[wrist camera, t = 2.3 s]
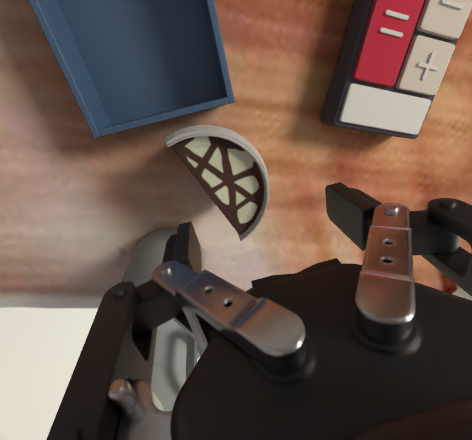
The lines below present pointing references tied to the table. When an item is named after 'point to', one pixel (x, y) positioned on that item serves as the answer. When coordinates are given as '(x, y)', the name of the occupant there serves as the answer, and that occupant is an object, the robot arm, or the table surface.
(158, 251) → the water bottle
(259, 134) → the table surface
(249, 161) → the food container
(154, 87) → the tote
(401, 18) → the calculator
